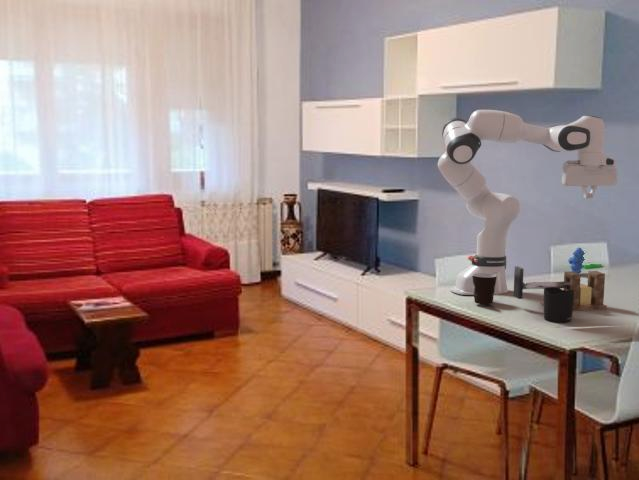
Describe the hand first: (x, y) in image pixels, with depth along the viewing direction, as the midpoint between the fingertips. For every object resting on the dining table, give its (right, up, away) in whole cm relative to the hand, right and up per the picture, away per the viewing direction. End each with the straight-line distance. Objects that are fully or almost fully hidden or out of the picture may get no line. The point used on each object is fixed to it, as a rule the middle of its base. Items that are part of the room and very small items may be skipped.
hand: (588, 198), depth 265 cm
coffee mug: (-39, -38, -4) cm, 55 cm away
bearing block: (-10, -39, -12) cm, 42 cm away
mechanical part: (+26, -29, +69) cm, 79 cm away
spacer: (-7, -35, -12) cm, 38 cm away
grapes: (+13, -31, +51) cm, 61 cm away
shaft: (-21, -35, -14) cm, 44 cm away
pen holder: (-22, -42, -31) cm, 56 cm away
